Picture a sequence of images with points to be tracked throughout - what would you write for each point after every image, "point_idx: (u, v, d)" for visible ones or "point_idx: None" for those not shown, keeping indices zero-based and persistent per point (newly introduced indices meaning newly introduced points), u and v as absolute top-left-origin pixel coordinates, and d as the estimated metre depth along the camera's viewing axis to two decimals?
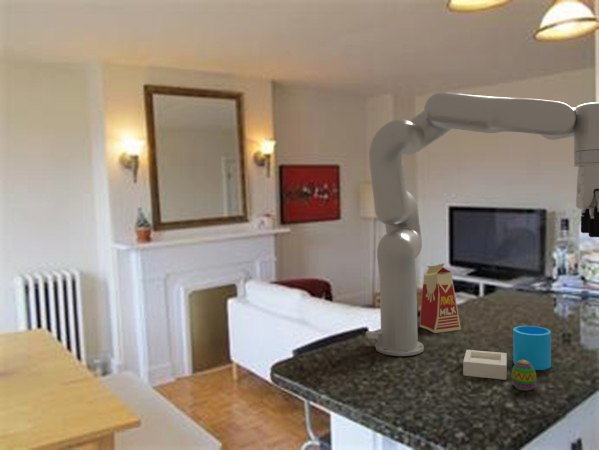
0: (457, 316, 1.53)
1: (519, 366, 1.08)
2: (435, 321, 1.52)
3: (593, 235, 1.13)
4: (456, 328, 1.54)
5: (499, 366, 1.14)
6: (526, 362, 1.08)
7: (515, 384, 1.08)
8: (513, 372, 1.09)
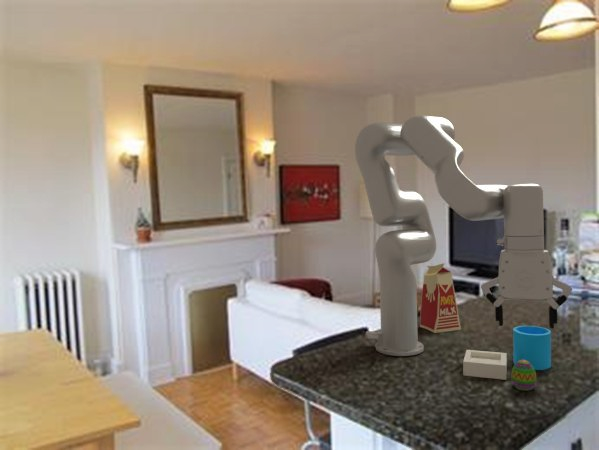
0: (457, 316, 1.53)
1: (519, 366, 1.08)
2: (435, 321, 1.52)
3: (553, 326, 1.05)
4: (456, 328, 1.54)
5: (499, 366, 1.14)
6: (526, 362, 1.08)
7: (515, 384, 1.08)
8: (513, 372, 1.09)
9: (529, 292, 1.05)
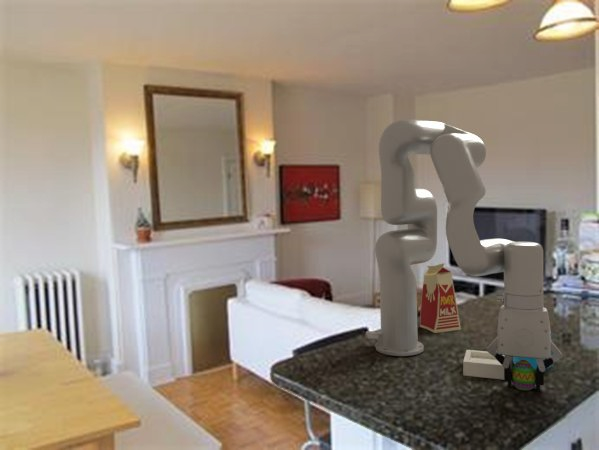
0: (457, 316, 1.53)
1: (519, 366, 1.08)
2: (435, 321, 1.52)
3: (539, 387, 1.07)
4: (456, 328, 1.54)
5: (499, 366, 1.14)
6: (526, 362, 1.08)
7: (515, 384, 1.08)
8: (513, 372, 1.09)
9: (527, 350, 1.06)
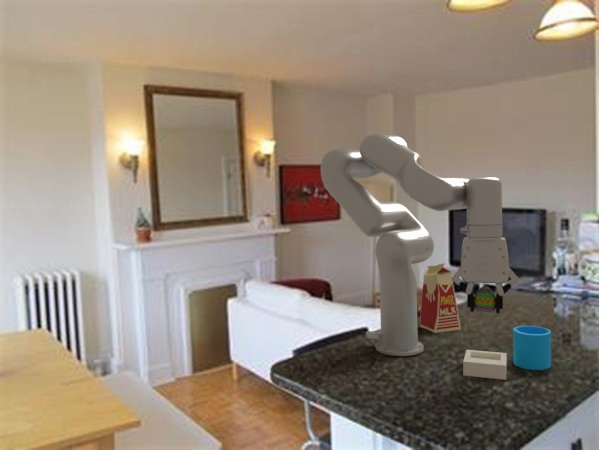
0: (457, 316, 1.53)
1: (480, 291, 1.17)
2: (435, 321, 1.52)
3: (499, 311, 1.17)
4: (456, 328, 1.54)
5: (499, 366, 1.14)
6: (487, 288, 1.18)
7: (477, 308, 1.18)
8: (475, 297, 1.18)
9: (487, 276, 1.15)
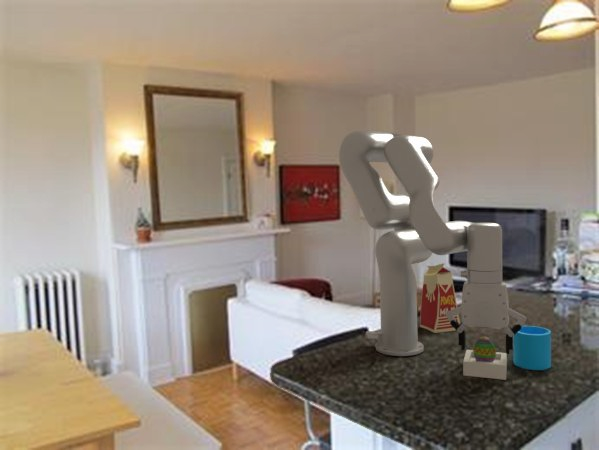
0: (457, 316, 1.53)
1: (480, 342, 1.18)
2: (435, 321, 1.52)
3: None
4: None
5: (499, 366, 1.14)
6: (486, 338, 1.18)
7: (476, 358, 1.19)
8: (475, 348, 1.19)
9: (488, 321, 1.16)
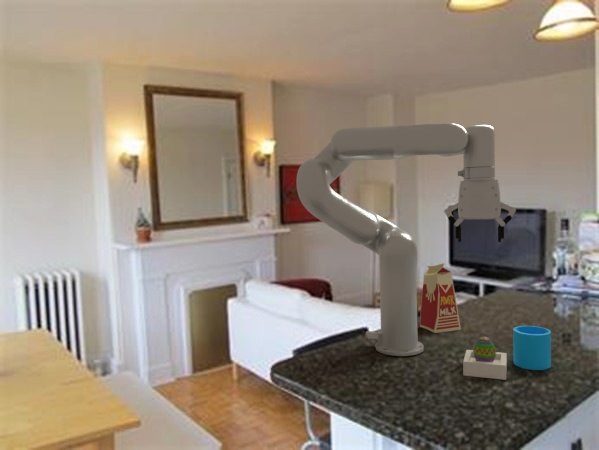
0: (457, 316, 1.53)
1: (480, 342, 1.18)
2: (435, 321, 1.52)
3: None
4: (456, 328, 1.54)
5: (499, 366, 1.14)
6: (486, 338, 1.18)
7: (476, 358, 1.19)
8: (475, 348, 1.19)
9: (481, 212, 1.30)
